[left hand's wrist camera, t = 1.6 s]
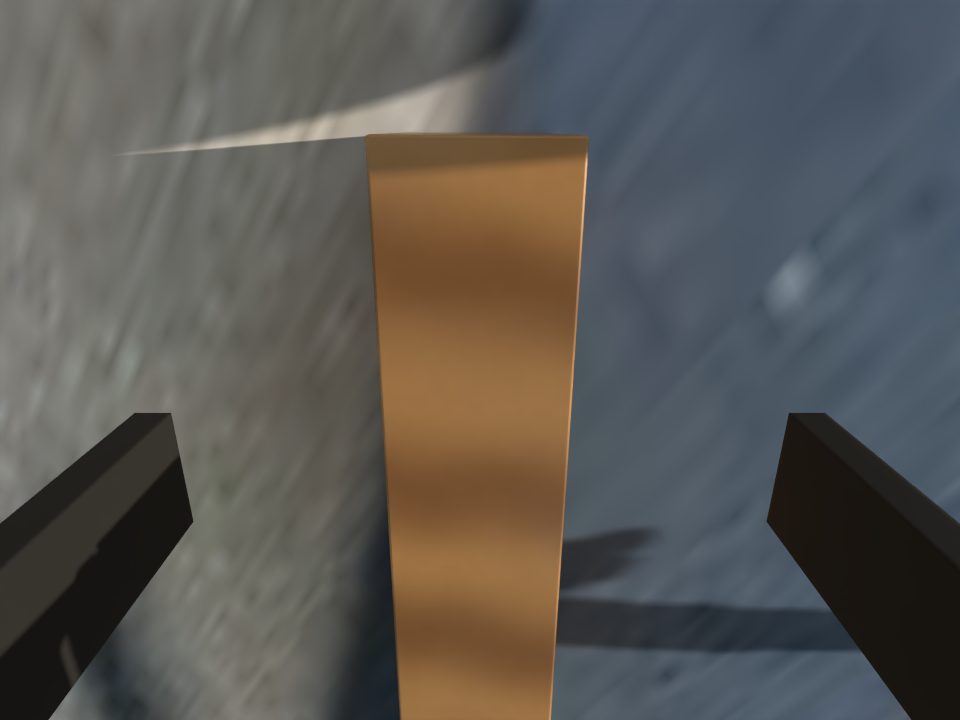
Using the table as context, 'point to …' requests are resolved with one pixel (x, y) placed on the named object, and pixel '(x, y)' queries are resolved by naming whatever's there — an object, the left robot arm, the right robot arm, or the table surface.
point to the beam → (476, 407)
